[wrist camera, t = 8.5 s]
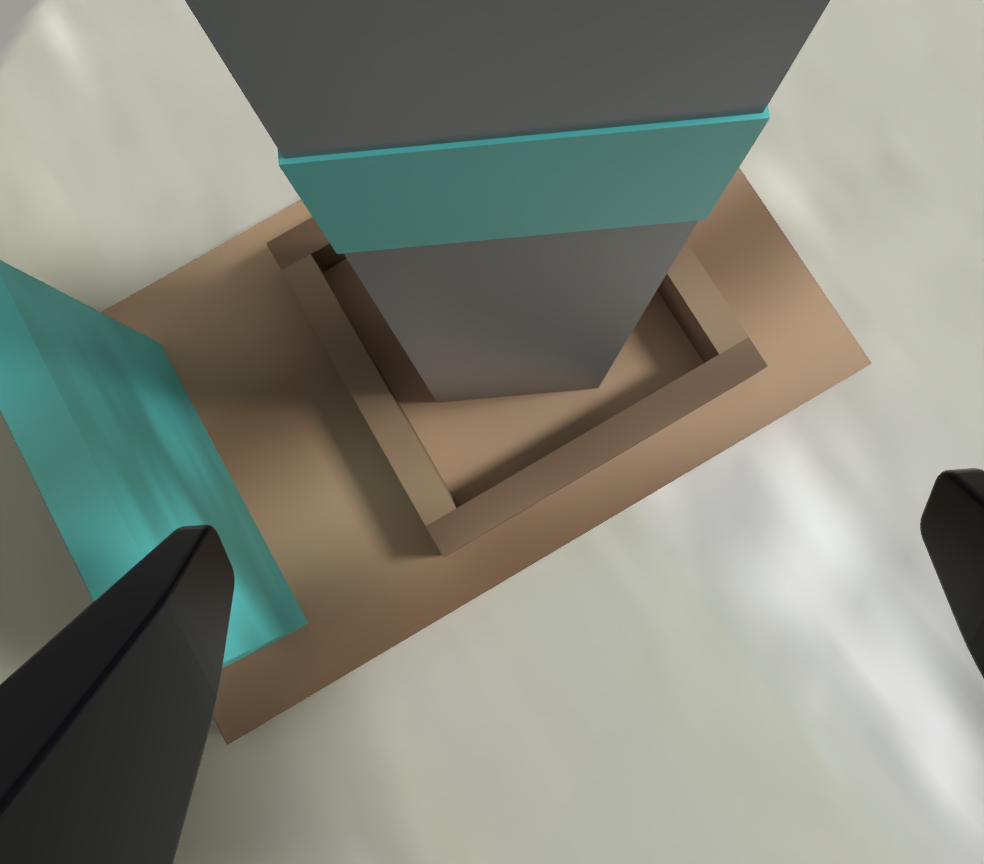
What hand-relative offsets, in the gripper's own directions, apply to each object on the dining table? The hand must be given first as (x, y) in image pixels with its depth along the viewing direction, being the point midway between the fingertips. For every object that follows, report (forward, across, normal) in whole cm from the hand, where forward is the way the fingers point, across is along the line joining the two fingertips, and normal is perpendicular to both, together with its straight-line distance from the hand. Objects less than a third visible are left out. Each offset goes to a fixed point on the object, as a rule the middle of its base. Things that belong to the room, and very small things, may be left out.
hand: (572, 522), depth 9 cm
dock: (+10, +2, +4) cm, 11 cm away
